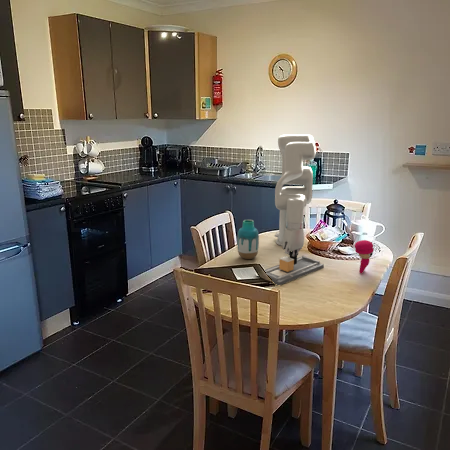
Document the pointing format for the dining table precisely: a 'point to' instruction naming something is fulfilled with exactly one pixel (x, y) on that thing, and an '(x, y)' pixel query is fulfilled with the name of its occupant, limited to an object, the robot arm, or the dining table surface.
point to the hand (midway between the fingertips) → (293, 263)
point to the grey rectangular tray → (300, 269)
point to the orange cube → (286, 264)
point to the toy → (364, 253)
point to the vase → (248, 240)
